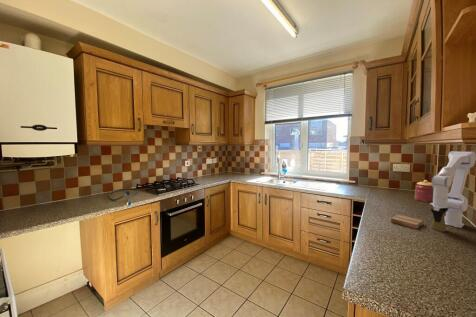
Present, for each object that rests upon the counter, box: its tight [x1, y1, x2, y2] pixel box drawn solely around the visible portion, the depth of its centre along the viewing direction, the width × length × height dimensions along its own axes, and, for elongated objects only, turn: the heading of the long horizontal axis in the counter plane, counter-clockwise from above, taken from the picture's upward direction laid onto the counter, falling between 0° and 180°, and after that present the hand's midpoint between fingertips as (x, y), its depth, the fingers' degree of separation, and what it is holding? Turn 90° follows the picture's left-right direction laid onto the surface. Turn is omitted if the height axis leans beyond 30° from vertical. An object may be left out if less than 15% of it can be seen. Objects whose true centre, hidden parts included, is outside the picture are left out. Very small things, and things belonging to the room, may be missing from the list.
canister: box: [413, 179, 434, 203], centre depth 169 cm, size 13×13×18 cm
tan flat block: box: [390, 214, 424, 230], centre depth 121 cm, size 12×12×2 cm
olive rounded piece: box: [430, 212, 447, 232], centre depth 112 cm, size 6×6×11 cm
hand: (438, 220), depth 112 cm, fingers closed on olive rounded piece, 5 cm apart
